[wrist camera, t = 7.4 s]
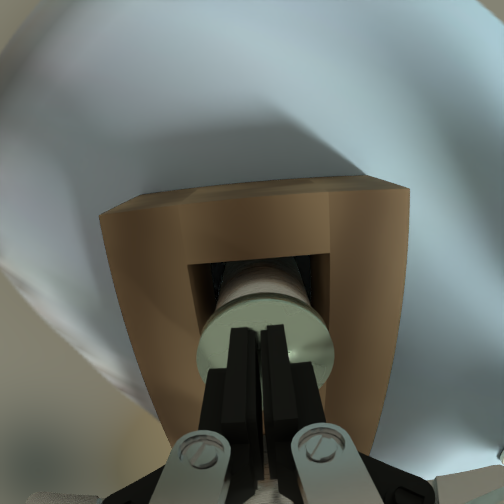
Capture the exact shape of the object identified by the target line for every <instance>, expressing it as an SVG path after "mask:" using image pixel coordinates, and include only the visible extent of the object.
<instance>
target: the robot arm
mask: <svg viewBox="0 0 504 504" xmlns="http://www.w3.org/2000/svg"><path fill="white" fill-rule="evenodd" d="M260 336H261V361H262V388H263V414H264V428H265V437H266V446H267V455H268V464H269V473H270V480H277V479H278V491H279V493H280V494H282V495H283V496H285V497H286V498H288V499H289V500H291V503H292V504H504V466H502V465H492V466H488V467H484V468H480V469H475V470H470V471H465V472H460V473H455V474H449V475H443V476H436V478H435V479H434V480H428V481H426V480H424V479H422V478H421V477H418V476H415V475H413V474H410V473H408V472H405V471H403V470H400V469H398V468H395V467H393V466H390V465H388V464H386V463H383V462H381V461H379V460H376V459H374V458H372V457H370V456H367V455H365V454H363V453H361V452H359V451H357V449H356V447H355V445H354V443H353V441H352V439H351V437H350V436H349V434H348V433H347V432H346V431H345V430H344V429H342V428H341V427H340V426H337V425H334V424H331V423H326V418H325V414H324V410H323V406H322V401H321V397H320V393H319V389H318V385H317V381H316V377H315V373H314V368H313V365H312V362H311V361H308V362H299V363H290V361H289V354H288V348H287V342H286V336H285V329H284V324H278V325H267V330H260ZM500 460H501V462H502V464H504V450H503V452H502V453H501V456H500ZM261 480H264V446H263V415H262V392H261V382H260V373H259V363H258V354H257V344H256V334H255V331H249V329H248V327H239V328H231V331H230V340H229V349H228V359H227V368H212V369H209V370H208V374H207V379H206V385H205V391H204V397H203V402H202V408H201V414H200V420H199V426H198V431H194V432H190V433H188V434H186V435H184V436H182V437H181V438H180V439H179V440H177V442H176V443H175V445H174V446H173V448H172V450H171V453H170V455H169V458H168V460H167V462H166V464H165V465H164V466H162V467H161V468H159V469H157V470H155V471H154V472H152V473H150V474H148V475H147V476H145V477H143V478H141V479H139V480H138V481H136V482H134V483H132V484H130V485H128V486H126V487H125V488H123V489H121V490H119V491H117V492H115V493H113V494H111V495H110V496H108V497H107V498H99V497H98V496H96V495H95V496H94V495H74V494H62V493H51V492H37V493H34V494H32V495H31V496H30V497H29V498H28V499H27V501H26V504H245V502H246V501H247V500H248V499H250V498H251V497H252V496H253V495H255V490H258V481H261Z"/></svg>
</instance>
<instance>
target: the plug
mask: <svg viewBox="0 0 504 504" xmlns="http://www.w3.org/2000/svg"><path fill="white" fill-rule="evenodd" d="M278 324H284V329H285V336H286V342H287V348H288V354H289V361H290V363H299V362H308V361H311V362H312V365H313V368H314V373H315V377H316V381H317V385H318V389H320V387H321V386H322V385H323V384H324V383H325V381H326V380H327V378H328V377H329V375H330V373H331V370H332V367H333V364H334V346H333V342H332V340H331V337H330V334H329V331H328V329H327V326H326V324H325V322H324V320H323V319H322V317H321V316H320V315H319V313H318V312H317V311H316V310H315V309H313V308H312V307H311V304H310V301H309V298H308V295H307V293H306V290H305V287H304V284H303V281H302V278H301V275H300V272H299V269H298V266H297V264H296V261H295V259H294V258H293V256H288V257H276V258H264V259H252V260H239V261H227V263H226V266H225V270H224V274H223V278H222V283H221V287H220V292H219V296H218V300H217V305H216V309H215V312H214V313H213V314H212V315H211V316H210V318H209V319H208V320H207V322H206V324H205V326H204V327H203V330H202V333H201V336H200V340H199V344H198V348H197V353H196V362H197V368H198V371H199V374H200V376H201V378H202V380H203V382H204V383H205V385H206V379H207V374H208V370H209V369H212V368H227V359H228V349H229V340H230V331H231V328H239V327H248V329H249V331H255V334H256V344H257V354H258V363H259V373H260V382H261V392H262V410H263V388H262V361H261V336H260V330H267V325H278Z"/></svg>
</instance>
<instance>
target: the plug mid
mask: <svg viewBox="0 0 504 504" xmlns="http://www.w3.org/2000/svg"><path fill="white" fill-rule="evenodd" d="M263 446H264V480H261V481H258V490H255V495H253V496H252V497H251V498H250V499H248V500H247V501H246V502H245V504H292V503H291V500H289V499H288V498H286V497H285V496H283V495H282V494H280V493H279V491H278V479H277V480H270V473H269V464H268V455H267V446H266V437H265V435H263Z"/></svg>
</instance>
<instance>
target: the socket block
mask: <svg viewBox="0 0 504 504" xmlns="http://www.w3.org/2000/svg"><path fill="white" fill-rule="evenodd" d="M409 208H410V189H409V188H406V187H403V186H400V185H397V184H394V183H391V182H388V181H384V180H381V179H378V178H375V177H371V176H368V175H359V176H333V177H313V178H297V179H282V180H269V181H257V182H245V183H235V184H224V185H215V186H206V187H197V188H188V189H180V190H172V191H165V192H157V193H150V194H143V195H139V196H137V197H135V198H133V199H131V200H129V201H127V202H125V203H122V204H120V205H118V206H116V207H114V208H112V209H110V210H108V211H106V212H104V213H103V214H101V215H99V220H100V225H101V230H102V235H103V240H104V245H105V249H106V254H107V258H108V262H109V267H110V271H111V275H112V279H113V283H114V287H115V290H116V294H117V298H118V302H119V305H120V309H121V312H122V316H123V319H124V322H125V326H126V329H127V332H128V335H129V338H130V342H131V345H132V348H133V351H134V354H135V357H136V360H137V362H138V365H139V368H140V371H141V374H142V376H143V379H144V382H145V385H146V387H147V390H148V392H149V395H150V398H151V400H152V403H153V405H154V408H155V410H156V412H157V415H158V417H159V420H160V422H161V424H162V427H163V429H164V431H165V433H166V436H167V438H168V440H169V442H170V444H171V447H172V448H173V446H174V445H175V443H176V442H177V440H179V439H180V438H181V437H182V436H184V435H186V434H188V433H190V432H194V431H198V426H199V420H200V414H201V408H202V402H203V397H204V391H205V383H204V382H203V380H202V378H201V376H200V374H199V371H198V368H197V362H196V353H197V348H198V344H199V340H200V336H201V333H202V330H203V327H204V326H205V324H206V322H207V320H208V319H209V318H210V316H211V315H212V314H213V313H214V312H215V309H216V299H215V293H214V286H213V279H212V272H211V265H210V263H214V262H227V261H239V260H252V259H264V258H276V257H288V256H300V255H310V278H311V307H312V308H313V309H315V310H316V311H317V312H318V313H319V315H320V316H321V317H322V319H323V320H324V322H325V324H326V326H327V329H328V331H329V334H330V337H331V340H332V342H333V346H334V364H333V367H332V370H331V373H330V375H329V377H328V378H327V380H326V381H325V383H324V384H323V385H322V386H321V387H320V389H319V393H320V397H321V401H322V406H323V410H324V414H325V418H326V423H331V424H334V425H337V426H340V427H341V428H342V429H344V430H345V431H346V432H347V433H348V434H349V436H350V437H351V439H352V441H353V443H354V445H355V447H356V449H357V451H359V452H361V453H363V454H365V455H367V456H369V454H370V451H371V447H372V444H373V441H374V437H375V434H376V431H377V427H378V423H379V420H380V416H381V412H382V408H383V404H384V400H385V396H386V392H387V387H388V383H389V378H390V374H391V369H392V364H393V359H394V353H395V348H396V342H397V336H398V330H399V323H400V317H401V309H402V302H403V294H404V285H405V275H406V264H407V251H408V234H409ZM262 415H263V435H265V428H264V414H263V410H262Z"/></svg>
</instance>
